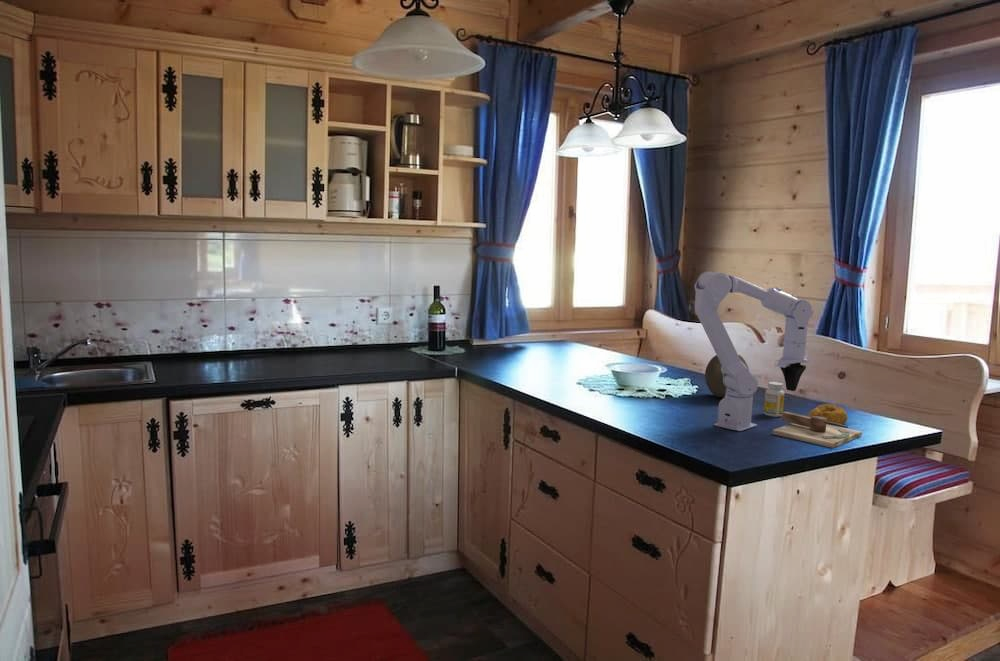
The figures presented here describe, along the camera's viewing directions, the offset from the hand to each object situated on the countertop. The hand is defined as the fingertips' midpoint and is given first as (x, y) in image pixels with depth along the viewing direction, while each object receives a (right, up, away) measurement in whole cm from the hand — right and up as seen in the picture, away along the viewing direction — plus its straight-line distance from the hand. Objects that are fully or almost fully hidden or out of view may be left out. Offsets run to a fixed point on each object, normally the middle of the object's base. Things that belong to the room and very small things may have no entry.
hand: (791, 390), depth 200 cm
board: (+4, -11, -8) cm, 14 cm away
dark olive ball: (-7, -6, +35) cm, 36 cm away
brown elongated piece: (+3, -10, -7) cm, 12 cm away
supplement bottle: (0, -9, +14) cm, 16 cm away
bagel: (+13, -10, +7) cm, 18 cm away
